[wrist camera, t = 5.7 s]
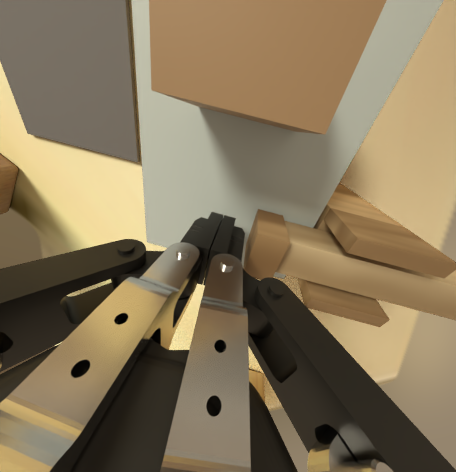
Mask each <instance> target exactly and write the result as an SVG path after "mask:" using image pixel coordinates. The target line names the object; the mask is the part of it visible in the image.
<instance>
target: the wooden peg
mask: <svg viewBox="0 0 456 472" xmlns="http://www.w3.org/2000/svg"><path fill="white" fill-rule="evenodd" d="M243 269H244V270H245V271H246V272H247V273H248V274H249V275H250V276H252V277H254V278H257V279H260V280H262V279H263V278H268V277H270V278H273V276H274V274H275V272H277V273H281V274H285V275H288V276H292V277H296V278H300V279H303V280H307V281H311V282H315V283H318V284H322V285H326V286H330V287H333V288H337V289H341V290H344V291H348V292H352V293H356V294H359V295H363V296H367V297H371V298H374V299H378V300H382V301H385V302H389V303H393V304H397V305H400V306H404V307H408V308H412V309H415V310H419V311H423V312H427V313H430V314H434V315H438V316H441V317H446V318H449V319H453V320H456V270H455V271H454V272H452V273H451V274H450V275H448V276H447V277H446V278H440V277H436V276H432V275H429V274H425V273H421V272H417V271H414V270H410V269H406V268H402V267H398V266H395V265H391V264H387V263H383V262H380V261H376V260H372V259H368V258H364V257H361V256H357V255H353V254H349V253H347V252H346V251H345V249H344V248H343V247H342V245H341V244H340V242H339V241H338V239H337V238H336V237H335V235H334V234H333V233H330V232H326V231H322V230H318V229H315V228H311V227H307V226H303V225H299V224H296V223H292V222H288V221H284V217H283V215H279V214H275V213H272V212H268V211H264V210H260V209H258V210H257V213H256V216H255V219H254V222H253V225H252V228H251V231H250V234H249V237H248V240H247V243H246V248H245V257H244V266H243Z"/></svg>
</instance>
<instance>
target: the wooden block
mask: <svg viewBox="0 0 456 472" xmlns="http://www.w3.org/2000/svg"><path fill="white" fill-rule="evenodd" d="M17 174H18V168H17V167H16V166H15V165H14V164H13V163H11V162H10V161H9V160H7V159H6V158H5V157H4V156H2V155H1V154H0V214H3V213H6V212H7V211H8V210H9V208H10V203H11V199H12V195H13V191H14V186H15V182H16V178H17Z"/></svg>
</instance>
